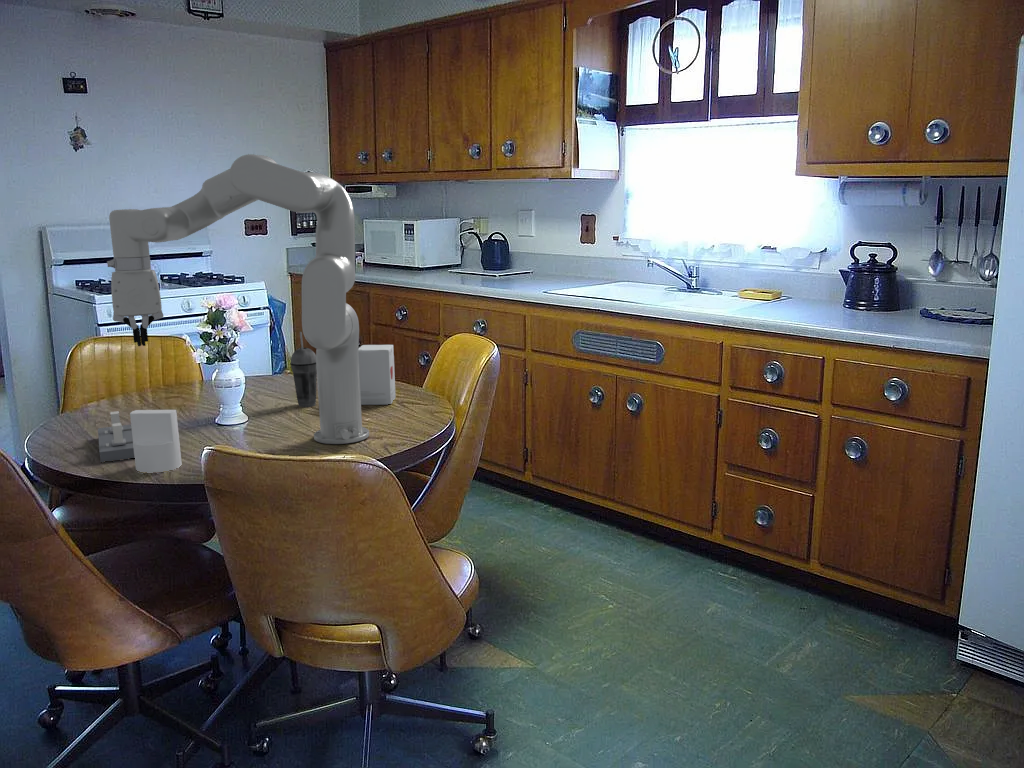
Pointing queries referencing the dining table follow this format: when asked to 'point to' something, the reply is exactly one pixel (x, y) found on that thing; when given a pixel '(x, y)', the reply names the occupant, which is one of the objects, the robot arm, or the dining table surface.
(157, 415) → the grey upright block
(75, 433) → the dining table surface
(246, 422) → the dining table surface
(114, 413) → the breaker
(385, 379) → the supplement box
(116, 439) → the block
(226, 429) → the dining table surface
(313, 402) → the beverage cup
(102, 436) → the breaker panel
